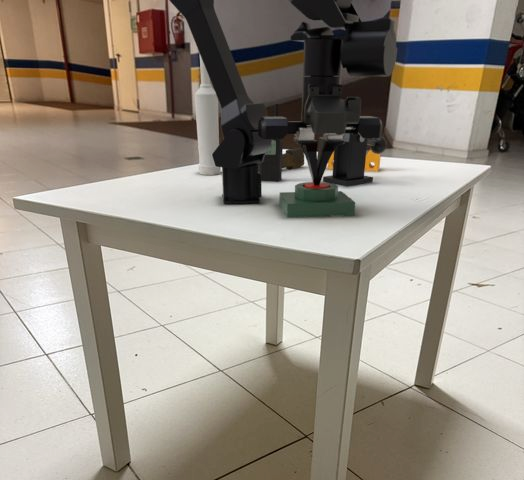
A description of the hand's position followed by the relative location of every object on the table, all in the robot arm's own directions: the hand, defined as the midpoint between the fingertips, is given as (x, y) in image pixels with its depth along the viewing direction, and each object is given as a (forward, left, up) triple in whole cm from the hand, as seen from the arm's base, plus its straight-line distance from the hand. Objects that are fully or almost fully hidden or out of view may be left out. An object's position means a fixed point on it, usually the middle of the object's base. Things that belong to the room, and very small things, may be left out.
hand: (316, 184), depth 81 cm
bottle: (-17, +39, -4) cm, 43 cm away
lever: (+16, +26, +2) cm, 31 cm away
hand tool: (-1, +41, -4) cm, 41 cm away
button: (0, 0, -2) cm, 2 cm away
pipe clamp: (+18, +41, -4) cm, 45 cm away
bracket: (+12, +24, -4) cm, 27 cm away
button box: (0, 0, -4) cm, 4 cm away
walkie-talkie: (-4, +28, -4) cm, 29 cm away
